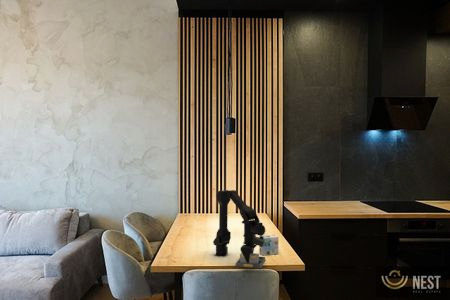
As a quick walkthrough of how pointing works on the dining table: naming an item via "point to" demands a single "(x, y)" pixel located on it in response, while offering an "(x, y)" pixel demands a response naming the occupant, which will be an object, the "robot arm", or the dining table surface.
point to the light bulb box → (270, 245)
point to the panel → (253, 258)
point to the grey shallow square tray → (261, 262)
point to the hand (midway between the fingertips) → (249, 260)
